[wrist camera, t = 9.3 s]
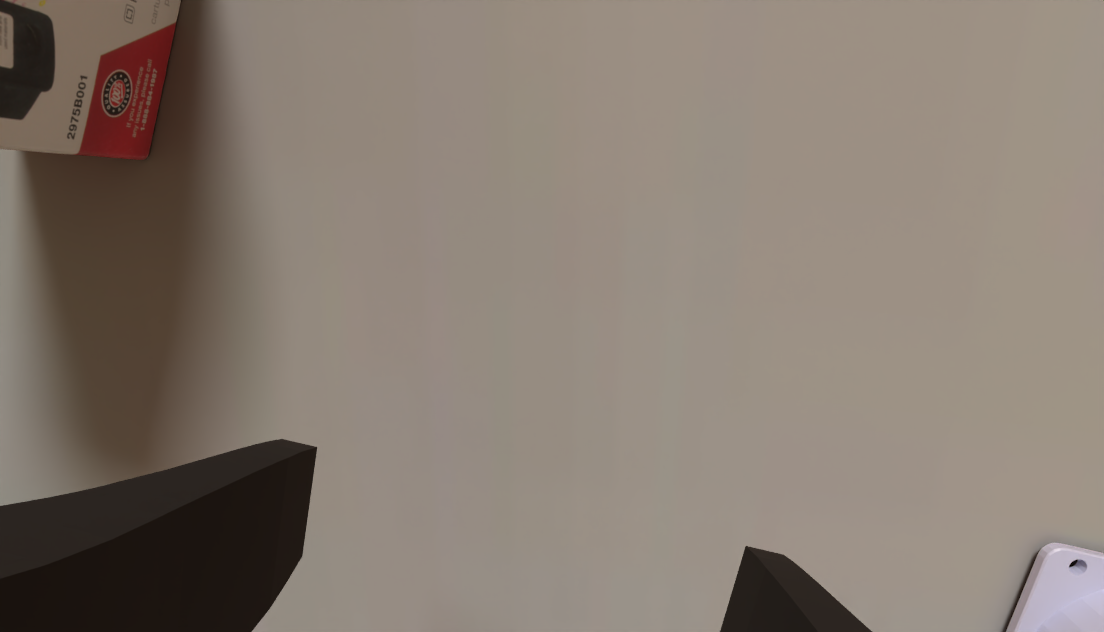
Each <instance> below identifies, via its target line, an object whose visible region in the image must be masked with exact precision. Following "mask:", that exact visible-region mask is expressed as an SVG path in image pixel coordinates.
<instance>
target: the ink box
mask: <svg viewBox="0 0 1104 632" xmlns="http://www.w3.org/2000/svg"><path fill="white" fill-rule="evenodd" d="M180 3H181V0H0V149H8V150H21V151H33V152H45V153H58V154H72V155H85V156H100V157H112V158H123V159H135V160H144V159H146V158H147V157H148V155H149V150H150V146H151V142H152V135H153V132H154V126H155V122H156V119H157V112H158V107H159V103H160V99H161V94H162V88H163V83H164V80H165V75H166V68H167V64H168V59H169V55H170V51H171V45H172V40H173V37H174V32H175V26H176V21H177V16H178V13H179V7H180Z"/></svg>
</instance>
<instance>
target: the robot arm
mask: <svg viewBox="0 0 1104 632" xmlns="http://www.w3.org/2000/svg"><path fill="white" fill-rule="evenodd" d="M316 451H317V447H314V446H310V445H305V444H301V443H297V442H292V441H288V440H284V439H280V440H273V441H268V442H264V443H260V444H255V445H252V446H248V447H244V448H241V449H237V450H234V451H230V452H227V453H223V454H220V455H216V456H213V457H209V458H206V459H202V460H199V461H195V462H192V463H188V464H185V465H181V466H178V467H175V468H171V469H167V470H164V471H160V472H156V473H152V474H148V475H144V476H140V477H136V478H132V479H128V480H124V481H120V482H116V483H112V484H109V485H105V486H101V487H97V488H92V489H88V490H83V491H79V492H74V493H69V494H64V495H59V496H54V497H49V498H44V499H38V500H32V501H27V502H21V503H15V504H10V505H4V506H0V632H251V631H252V630H253V629H254V628H255V626H256V625H257V624H258V623H259V621H260V620H261V619H262V618H263V616H264V615H265V614H266V613H267V611H268V610H269V609H270V607H271V606H272V604H273V603H274V601H275V600H276V598H277V596H278V595H279V593H280V592H281V590H282V589H283V587H284V586H285V584H286V582H287V581H288V579H289V577H290V576H291V574H292V572H293V571H294V569H295V567H296V566H297V564H298V562H299V561H300V559H301V557H302V554H303V547H304V539H305V532H306V525H307V517H308V510H309V503H310V495H311V488H312V481H313V473H314V466H315V459H316ZM1074 560H1078V562H1077V563H1076V564H1075V565H1074V566H1072V567H1069V565H1070V564H1071V562H1072V561H1074ZM720 632H872V631H871V630H869V629H868V628H867V627H866V626H865V625H864V624H863V623H862V622H861V621H859V620H858V619H857V618H856V617H855V616H854V615H853V614H852V613H851V612H849V611H848V610H847V609H846V608H845V607H844V606H843V605H842V604H841V603H840V602H838V601H837V600H836V599H835V598H834V597H833V596H832V595H831V594H830V593H829V592H827V591H826V590H825V589H824V588H823V587H822V586H821V585H820V584H819V583H818V582H816V581H815V580H814V579H813V578H812V577H811V576H810V575H808V574H807V573H806V572H805V571H804V570H803V569H801V568H800V567H799V566H798V565H797V564H795V563H794V562H793V561H792V560H790V559H789V558H787V557H786V556H785V555H782V554H778V553H774V552H769V551H765V550H761V549H756V548H752V547H748V546H746V547H745V550H744V554H743V557H742V561H741V564H740V567H739V571H738V574H737V577H736V581H735V584H734V587H733V591H732V594H731V597H730V601H729V604H728V607H727V611H726V614H725V617H724V621H723V624H722V627H721V631H720ZM1006 632H1104V553H1101V552H1097V551H1092V550H1088V549H1084V548H1079V547H1075V546H1071V545H1066V544H1062V543H1051V544H1047V545H1046V546H1044V547H1043V548H1041V550H1040V551H1039V553H1038V555H1037V557H1036V560H1035V562H1034V565H1033V567H1032V570H1031V572H1030V574H1029V577H1028V579H1027V582H1026V584H1025V587H1024V589H1023V592H1022V594H1021V596H1020V599H1019V601H1018V604H1017V606H1016V609H1015V611H1014V613H1013V616H1012V618H1011V621H1010V623H1009V626H1008V628H1007V630H1006Z"/></svg>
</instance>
